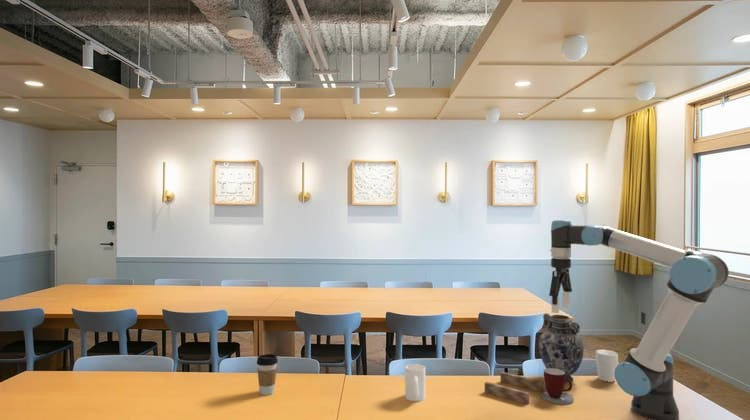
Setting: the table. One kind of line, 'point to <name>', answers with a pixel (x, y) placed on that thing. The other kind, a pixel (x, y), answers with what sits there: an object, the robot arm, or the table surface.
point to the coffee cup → (267, 373)
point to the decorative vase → (561, 345)
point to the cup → (606, 364)
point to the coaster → (558, 399)
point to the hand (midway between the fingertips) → (560, 310)
